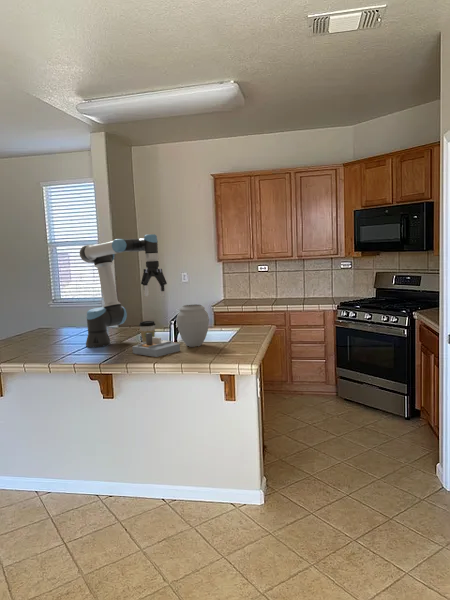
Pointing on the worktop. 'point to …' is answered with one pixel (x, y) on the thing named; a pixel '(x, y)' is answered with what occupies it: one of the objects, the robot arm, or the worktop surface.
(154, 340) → the shutter
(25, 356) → the worktop surface
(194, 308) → the vase
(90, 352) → the worktop surface
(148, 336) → the plug
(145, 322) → the coffee cup
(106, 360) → the worktop surface
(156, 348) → the socket plate
